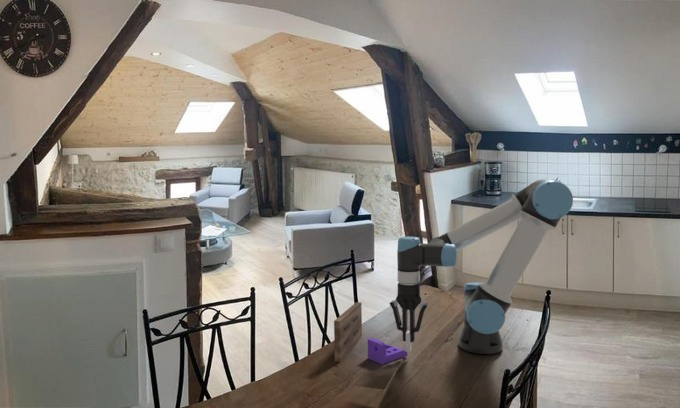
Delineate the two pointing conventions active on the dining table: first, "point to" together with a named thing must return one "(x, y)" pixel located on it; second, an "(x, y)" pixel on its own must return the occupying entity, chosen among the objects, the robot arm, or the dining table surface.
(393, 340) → the dining table surface
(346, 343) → the upright wooden plank
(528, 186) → the robot arm
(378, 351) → the bracket
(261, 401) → the dining table surface
